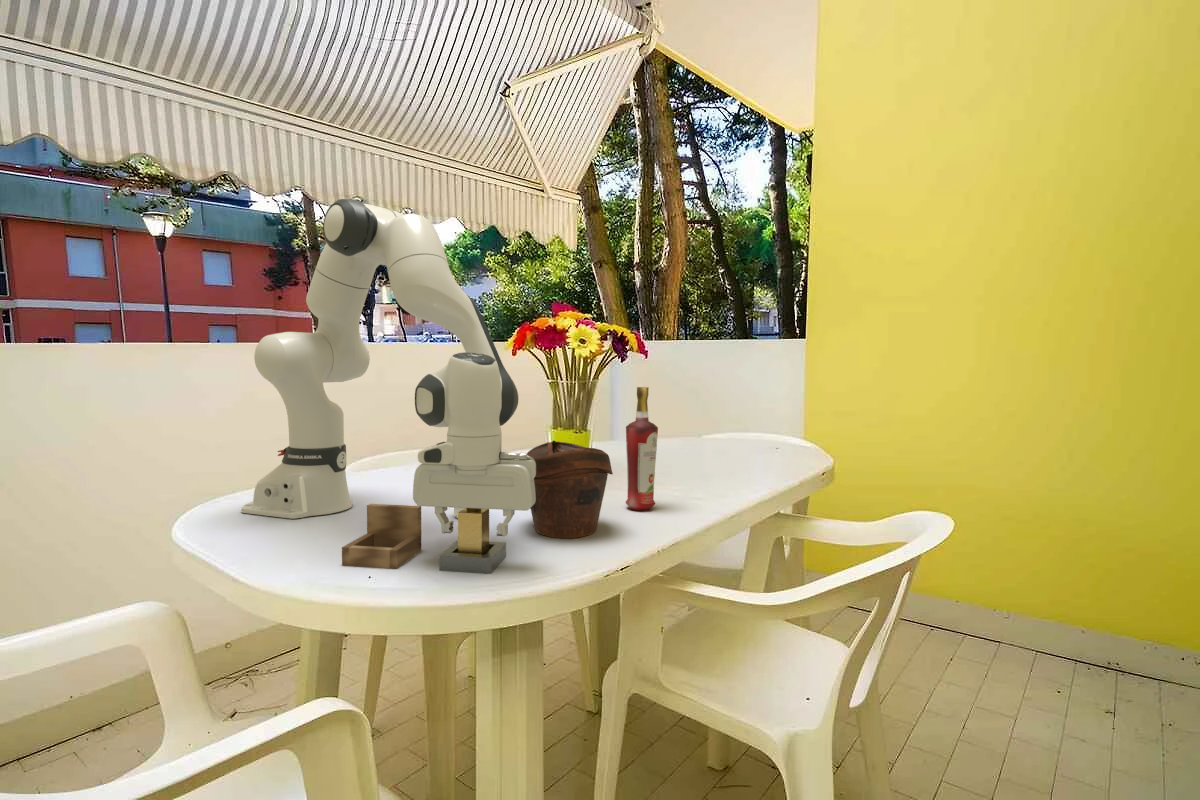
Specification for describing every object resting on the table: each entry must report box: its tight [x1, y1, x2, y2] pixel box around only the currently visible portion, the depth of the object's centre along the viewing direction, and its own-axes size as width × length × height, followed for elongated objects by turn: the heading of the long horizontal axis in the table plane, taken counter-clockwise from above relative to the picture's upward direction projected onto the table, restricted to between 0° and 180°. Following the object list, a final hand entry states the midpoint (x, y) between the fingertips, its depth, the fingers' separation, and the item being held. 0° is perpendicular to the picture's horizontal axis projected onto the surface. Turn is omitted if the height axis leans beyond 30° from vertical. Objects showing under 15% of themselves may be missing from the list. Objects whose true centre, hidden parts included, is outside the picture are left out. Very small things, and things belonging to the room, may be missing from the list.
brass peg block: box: [457, 508, 490, 555], centre depth 103 cm, size 4×4×13 cm
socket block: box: [438, 539, 507, 575], centre depth 103 cm, size 9×9×2 cm
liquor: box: [625, 386, 659, 512], centre depth 142 cm, size 7×7×28 cm
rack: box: [341, 503, 422, 570], centre depth 105 cm, size 10×10×8 cm
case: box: [526, 440, 614, 539], centre depth 124 cm, size 18×20×18 cm
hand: (474, 533), depth 103 cm, fingers open, 8 cm apart
